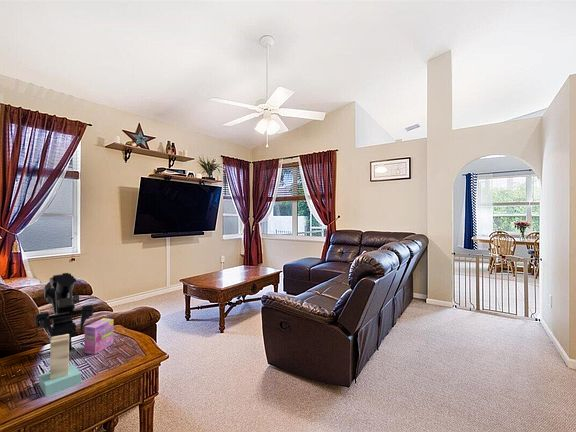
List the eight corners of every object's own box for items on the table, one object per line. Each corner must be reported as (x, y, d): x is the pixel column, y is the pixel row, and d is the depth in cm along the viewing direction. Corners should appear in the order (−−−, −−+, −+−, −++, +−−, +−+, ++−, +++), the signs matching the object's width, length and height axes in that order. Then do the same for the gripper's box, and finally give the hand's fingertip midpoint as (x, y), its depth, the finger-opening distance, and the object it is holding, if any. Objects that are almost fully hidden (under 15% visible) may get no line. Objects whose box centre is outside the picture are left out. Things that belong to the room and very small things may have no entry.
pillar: (51, 372, 105) (51, 336, 105) (68, 368, 108) (69, 333, 108) (50, 379, 101) (50, 342, 101) (68, 374, 104) (68, 338, 104)
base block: (45, 397, 98) (45, 385, 98) (39, 386, 104) (39, 375, 104) (81, 384, 105) (81, 373, 105) (73, 374, 112) (73, 363, 112)
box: (95, 354, 126) (95, 327, 126) (84, 353, 127) (83, 326, 127) (114, 343, 136) (113, 318, 136) (103, 342, 137) (103, 317, 137)
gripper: (35, 293, 112) (35, 330, 104) (92, 285, 124) (97, 318, 116) (35, 308, 118) (35, 345, 110) (90, 299, 131) (94, 331, 122)
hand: (67, 334), depth 115 cm, fingers open, 9 cm apart
